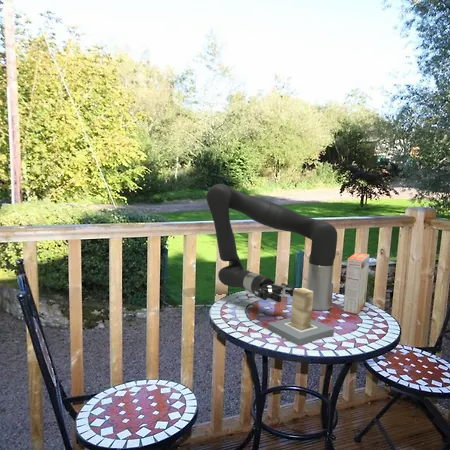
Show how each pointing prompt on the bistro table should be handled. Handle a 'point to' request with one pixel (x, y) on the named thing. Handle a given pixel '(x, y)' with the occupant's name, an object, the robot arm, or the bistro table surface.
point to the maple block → (302, 308)
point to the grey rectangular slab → (300, 331)
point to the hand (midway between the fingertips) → (289, 297)
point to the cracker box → (356, 282)
